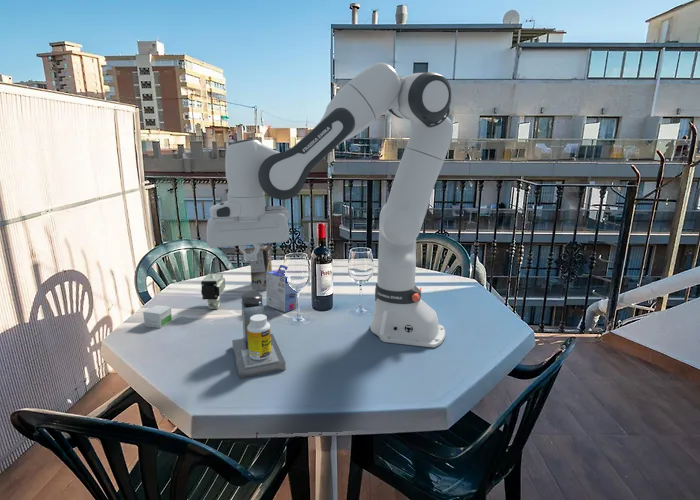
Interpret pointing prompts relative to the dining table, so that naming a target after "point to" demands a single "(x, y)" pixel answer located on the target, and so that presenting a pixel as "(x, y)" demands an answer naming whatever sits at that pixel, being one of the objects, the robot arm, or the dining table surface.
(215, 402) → the dining table surface
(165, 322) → the small box
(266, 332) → the supplement bottle
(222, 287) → the pneumatic valve
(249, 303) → the ram
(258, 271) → the coffee box
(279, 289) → the ink cartridge box
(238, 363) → the press
